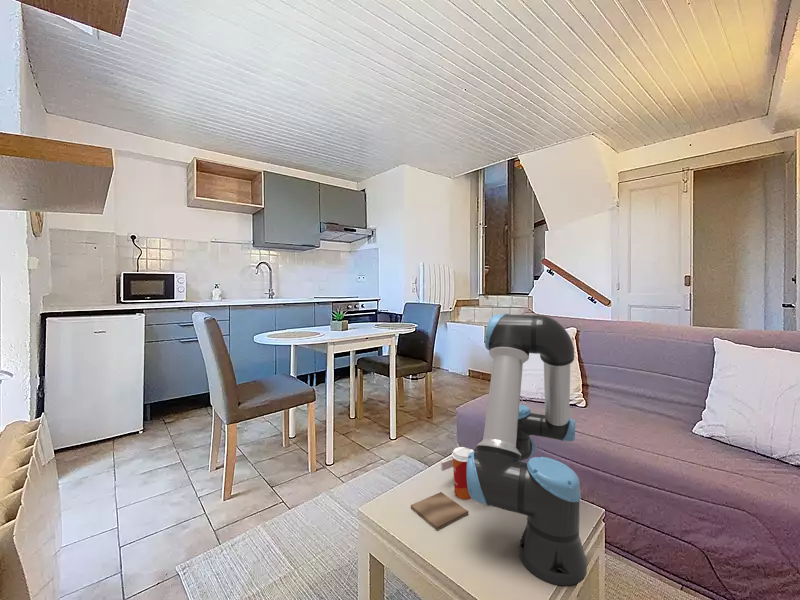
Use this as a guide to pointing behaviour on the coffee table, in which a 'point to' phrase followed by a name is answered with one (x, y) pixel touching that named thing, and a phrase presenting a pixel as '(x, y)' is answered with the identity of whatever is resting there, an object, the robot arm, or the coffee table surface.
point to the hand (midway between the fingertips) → (455, 475)
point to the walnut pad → (439, 510)
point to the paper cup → (461, 472)
